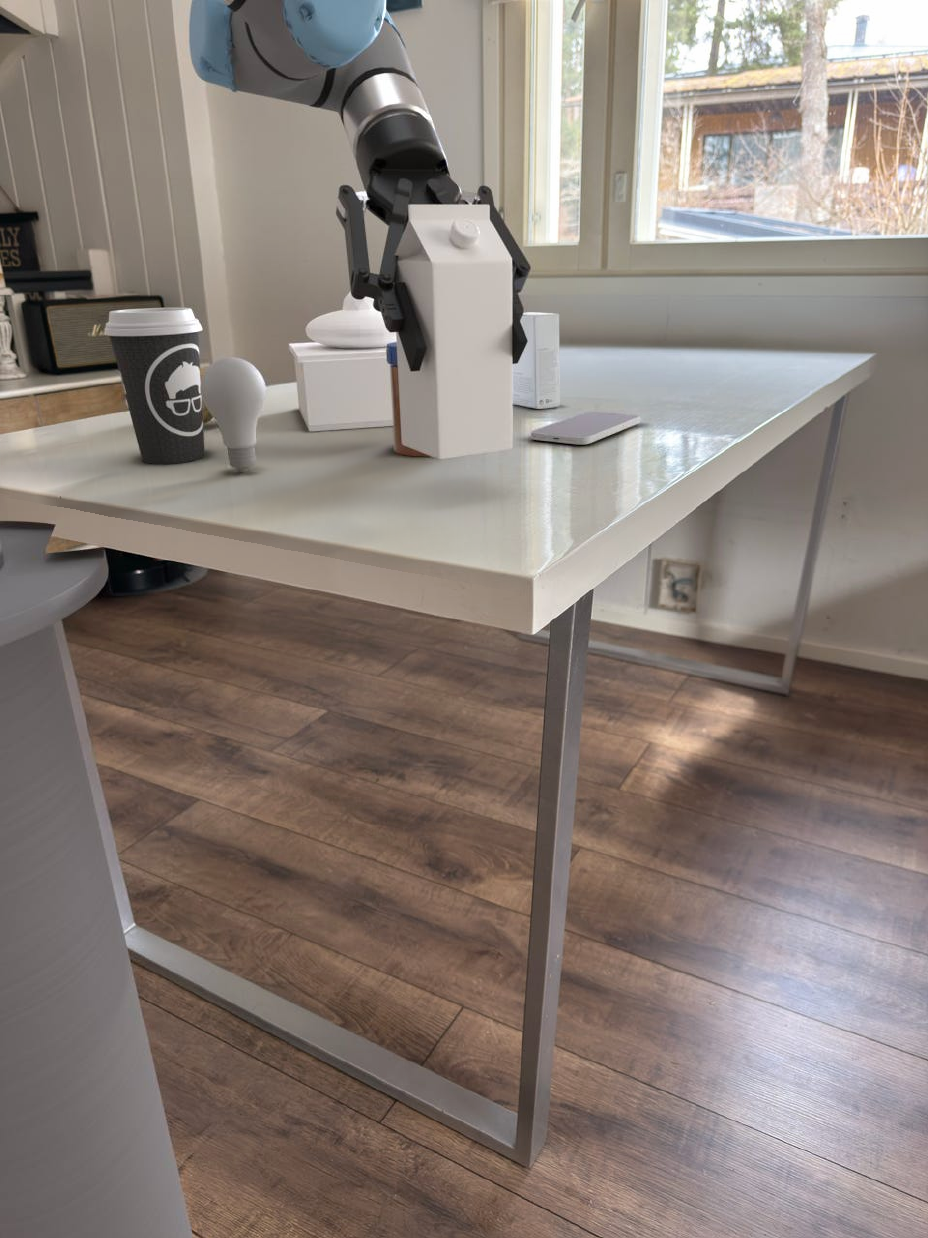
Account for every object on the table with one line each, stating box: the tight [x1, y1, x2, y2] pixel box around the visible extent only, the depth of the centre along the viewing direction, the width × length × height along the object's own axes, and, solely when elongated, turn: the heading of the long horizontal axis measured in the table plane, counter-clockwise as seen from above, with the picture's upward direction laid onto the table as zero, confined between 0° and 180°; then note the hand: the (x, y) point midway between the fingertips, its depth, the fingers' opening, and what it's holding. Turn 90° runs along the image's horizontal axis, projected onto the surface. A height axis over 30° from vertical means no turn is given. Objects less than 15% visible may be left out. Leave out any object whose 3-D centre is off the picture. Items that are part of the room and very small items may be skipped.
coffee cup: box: [103, 307, 206, 465], centre depth 90 cm, size 10×10×15 cm
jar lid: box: [386, 342, 398, 366], centre depth 90 cm, size 8×8×2 cm
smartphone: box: [530, 410, 641, 445], centre depth 100 cm, size 7×1×15 cm
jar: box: [390, 364, 430, 458], centre depth 92 cm, size 8×8×11 cm
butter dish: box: [288, 290, 397, 432], centre depth 112 cm, size 18×18×16 cm
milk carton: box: [393, 205, 514, 460], centre depth 70 cm, size 7×7×19 cm
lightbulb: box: [200, 356, 267, 473], centre depth 84 cm, size 6×6×11 cm
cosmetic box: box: [512, 311, 561, 410], centre depth 116 cm, size 6×4×12 cm
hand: (469, 355), depth 68 cm, fingers closed on milk carton, 8 cm apart
